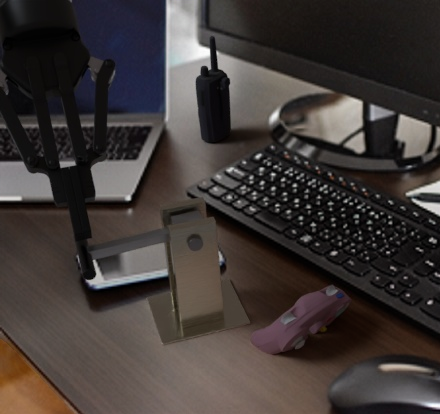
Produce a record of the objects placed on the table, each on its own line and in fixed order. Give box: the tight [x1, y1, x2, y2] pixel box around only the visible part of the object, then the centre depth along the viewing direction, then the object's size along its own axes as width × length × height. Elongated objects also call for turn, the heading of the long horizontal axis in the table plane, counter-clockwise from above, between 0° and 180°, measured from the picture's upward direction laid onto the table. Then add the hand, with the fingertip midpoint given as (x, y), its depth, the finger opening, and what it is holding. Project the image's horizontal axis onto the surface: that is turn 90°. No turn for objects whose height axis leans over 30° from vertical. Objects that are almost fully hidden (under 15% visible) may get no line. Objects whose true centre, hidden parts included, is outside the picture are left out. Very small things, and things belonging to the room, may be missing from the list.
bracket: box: [146, 196, 251, 346], centre depth 83 cm, size 9×8×13 cm
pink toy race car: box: [250, 284, 353, 355], centre depth 82 cm, size 10×5×7 cm, turn 136°
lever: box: [73, 210, 203, 281], centre depth 80 cm, size 12×7×2 cm, turn 110°
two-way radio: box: [195, 35, 232, 144], centre depth 119 cm, size 6×4×15 cm
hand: (83, 236), depth 78 cm, fingers closed
